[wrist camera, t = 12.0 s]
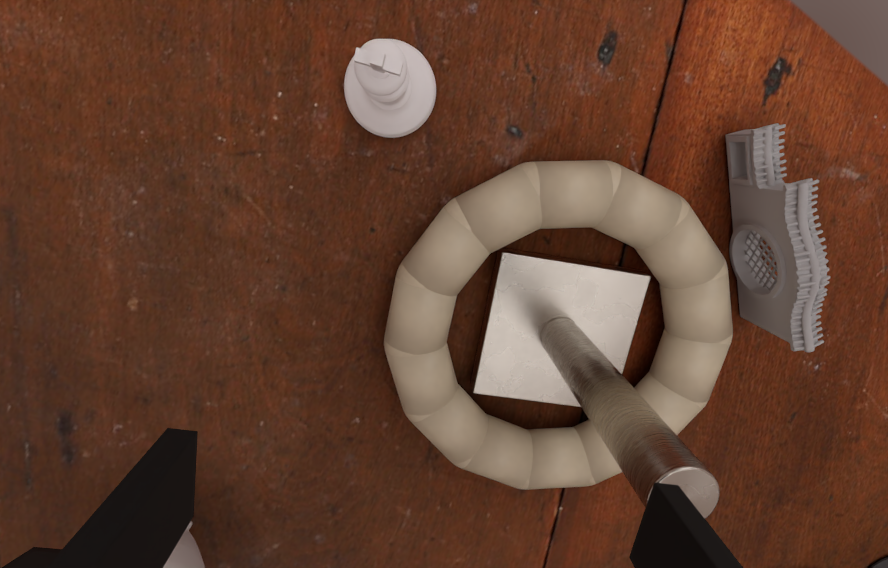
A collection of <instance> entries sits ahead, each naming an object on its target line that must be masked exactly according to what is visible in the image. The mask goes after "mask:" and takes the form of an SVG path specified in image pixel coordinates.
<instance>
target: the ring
mask: <svg viewBox="0 0 888 568" xmlns="http://www.w3.org/2000/svg"><path fill="white" fill-rule="evenodd" d="M587 227H592V228H594V229H596V230H598V231H600V232H602V233H604V234H606V235H608V236H611V237H613V238H615V239H617V240H619V241H621V242H623V243H625V244H627V245H630V246H632V247H634V249H635V250H636V251H637V253H638V254H639V255H640V257H641V258H642V260H643V261H644V262H645V264H646V265H647V267H648V268H649V269H650V271H651V272H652V274H653V275H654V276H655V278H656V279H657V280H658V282H659V284H660V292H661V301H662V309H663V317H664V325H665V328H664V331H663V334H662V337H661V339H660V342H659V345H658V348H657V351H656V354H655V357H654V359H653V362H652V365H651V368H650V371H649V372H648V373H647V374H646V375H645V376H644V378H643V379H642V380H641V381H640V382H639V383H638V384H637V385H636V386H635V387H634V388H635V390H636V391H637V392H638V393H639V394H640V395H641V396H642V397H643V398H644V400H645V401H646V402H647V403H648V404H649V405H650V406H651V407H652V408H653V409H654V411H655V412H656V413H657V414H658V415H659V416H660V417H661V418H662V419H663V421H664V422H665V423H666V424H667V425H668V426H669V427H670V428H671V429H672V431H673V432H674V433H675V434H676V435H678V434H679V433H680V432H681V431H682V430H683V429H684V428H685V426H686V425H687V424H688V423H689V422H690V421H691V420H692V419H693V418H694V417H695V416H696V415H697V414H698V413H699V412H700V411H701V410H702V409H703V408H704V407H705V406H706V404H707V402H708V400H709V398H710V395H711V393H712V390H713V388H714V385H715V382H716V380H717V377H718V375H719V372H720V370H721V367H722V365H723V362H724V359H725V357H726V354H727V352H728V349H729V347H730V344H731V341H732V337H733V326H732V313H731V301H730V288H729V276H728V267H727V263H726V260H725V258H724V257H723V255H722V253H721V252H720V250H719V249H718V247H717V246H716V244H715V243H714V241H713V240H712V238H711V237H710V235H709V234H708V232H707V231H706V229H705V228H704V226H703V225H702V223H701V222H700V220H699V219H698V217H697V216H696V214H695V213H694V211H693V210H692V208H691V207H690V205H689V204H688V203H687V201H686V200H685V199H684V198H683V197H681V196H680V195H679V194H677V193H675V192H673V191H671V190H669V189H667V188H665V187H663V186H661V185H659V184H657V183H655V182H653V181H651V180H649V179H647V178H645V177H643V176H641V175H639V174H637V173H635V172H633V171H631V170H629V169H627V168H625V167H623V166H621V165H619V164H617V163H614V162H612V161H606V160H588V161H537V162H526V163H522V164H520V165H517V166H515V167H513V168H511V169H509V170H507V171H506V172H504V173H502V174H500V175H498V176H496V177H494V178H492V179H490V180H488V181H486V182H484V183H482V184H480V185H478V186H476V187H474V188H472V189H470V190H469V191H467V192H465V193H463V194H461V195H459V196H457V197H455V198H453V199H452V200H450V201H449V202H448V203H447V204H446V205H445V206H444V207H443V208H442V209H441V211H440V212H439V213H438V215H437V216H436V217H435V219H434V220H433V221H432V223H431V224H430V225H429V227H428V228H427V229H426V230H425V232H424V233H423V234H422V236H421V237H420V238H419V240H418V241H417V242H416V244H415V245H414V246H413V248H412V249H411V250H410V252H409V253H408V254H407V255H406V257H405V258H404V259H403V261H402V262H401V264H400V266H399V267H398V270H397V273H396V278H395V283H394V288H393V294H392V299H391V304H390V309H389V315H388V320H387V325H386V330H385V336H384V348H385V353H386V356H387V359H388V363H389V366H390V369H391V372H392V376H393V379H394V382H395V386H396V389H397V392H398V395H399V399H400V402H401V405H402V408H403V411H404V413H405V415H406V416H407V418H408V419H409V420H410V421H411V422H412V423H413V424H414V425H415V426H416V427H417V428H418V429H419V430H420V431H421V432H422V433H423V434H424V435H425V436H426V437H427V438H428V439H429V440H430V442H431V443H432V444H433V445H434V446H435V447H436V448H437V449H438V450H439V451H440V452H441V453H442V454H443V455H444V456H445V457H446V458H447V459H448V460H449V461H450V462H452V463H453V464H454V465H456V466H457V467H459V468H462V469H464V470H467V471H470V472H473V473H476V474H478V475H481V476H484V477H487V478H489V479H492V480H495V481H498V482H500V483H503V484H506V485H509V486H512V487H514V488H518V489H526V490H527V489H546V488H564V487H582V486H591V485H594V484H597V483H599V482H601V481H603V480H606V479H608V478H610V477H612V476H614V475H617V474H619V473H621V472H622V470H621V469H620V467H619V466H618V464H617V462H616V461H615V459H614V458H613V456H612V455H611V453H610V451H609V450H608V448H607V447H606V445H605V444H604V442H603V440H602V439H601V437H600V436H599V434H598V433H597V431H596V429H595V428H594V426H593V425H592V423H591V422H590V420H587V421H585V422H582V423H580V424H578V425H576V426H574V427H563V428H543V429H524V428H522V427H519V426H517V425H514V424H511V423H509V422H506V421H504V420H501V419H498V418H496V417H493V416H491V415H488V414H486V413H485V412H484V411H483V410H482V409H481V408H480V407H479V406H478V405H477V404H476V402H475V401H474V400H473V399H472V398H471V397H470V396H469V395H468V394H467V393H466V392H465V391H464V389H463V388H462V387H461V386H460V385H459V384H458V383H457V379H456V375H455V372H454V368H453V364H452V360H451V356H450V353H449V349H448V345H447V338H448V333H449V329H450V324H451V320H452V315H453V311H454V307H455V302H456V298H457V294H458V293H459V292H460V291H461V289H462V288H463V287H464V286H465V284H466V283H467V282H468V281H469V280H470V278H471V277H472V276H473V275H474V273H475V272H476V271H477V270H478V268H479V267H480V266H481V265H482V263H483V262H484V261H485V260H486V258H487V257H488V256H489V255H490V253H492V252H494V251H496V250H498V249H500V248H502V247H504V246H506V245H508V244H510V243H512V242H514V241H516V240H518V239H520V238H522V237H524V236H526V235H528V234H530V233H532V232H534V231H536V230H538V229H550V228H587Z"/></svg>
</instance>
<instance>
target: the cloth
mask: <svg viewBox="0 0 888 568" xmlns="http://www.w3.org/2000/svg"><path fill="white" fill-rule="evenodd" d="M871 568H888V557H887V558H884V559H882V560H880V561H878V562H876V563H875V564H873V565H872V566H871Z"/></svg>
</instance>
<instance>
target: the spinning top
mask: <svg viewBox="0 0 888 568" xmlns="http://www.w3.org/2000/svg"><path fill="white" fill-rule="evenodd" d="M192 524H193V523H192V521H190V523H189V525H188V526H187V528H186V530H185V531H184V533H183V535H182V537H181V538H180V540H179V542H178V543H177V545H176V547H175V548H174V550H173V552H172V553H171V555H170V557H169V558H168V560H167V562H166V564H165V565H164V567H163V568H205V566H204V563H203V560H202V557H201V554H200V551H199V548H198V546H197V544H196V542H195V540H194V538H193V536H192V535H191V533H190V532H189V529H190V528H191V526H192Z"/></svg>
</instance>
